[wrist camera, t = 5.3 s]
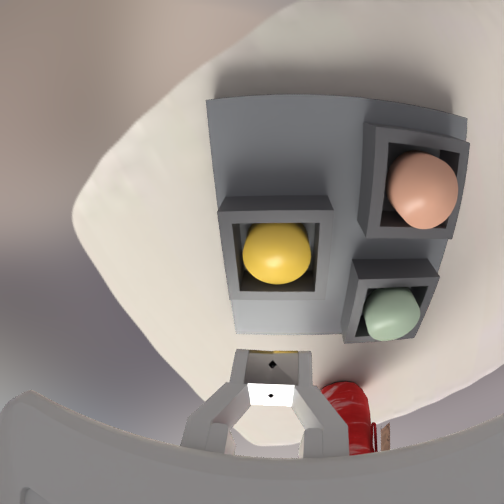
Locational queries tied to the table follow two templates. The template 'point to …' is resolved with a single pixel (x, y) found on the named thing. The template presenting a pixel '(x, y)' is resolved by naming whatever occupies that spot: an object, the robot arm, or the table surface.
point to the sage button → (390, 313)
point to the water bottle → (356, 417)
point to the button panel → (327, 204)
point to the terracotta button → (421, 188)
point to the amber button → (277, 252)
